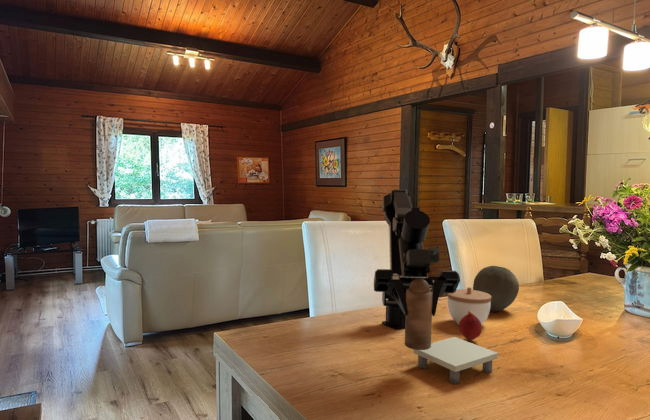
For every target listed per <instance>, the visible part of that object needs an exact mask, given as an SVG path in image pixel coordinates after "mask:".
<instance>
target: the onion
mask: <svg viewBox="0 0 650 420" xmlns="http://www.w3.org/2000/svg"><path fill="white" fill-rule="evenodd" d="M482 327H483V326H482V324H481V322H480V321H479V319H478V318H477V317H476V316H475V315H473V314H472V312H471V311H468V314H467V315H466V316H464V317H463V318H462V319H461V320H460V322H459V325H458V330H459V332H460V334H461V335H462V336H463V337H464V338H465V339H466V341H467V342H472V341H473V340H475V339H477V338H478V337H480V336H481V333H482V331H483V328H482Z"/></svg>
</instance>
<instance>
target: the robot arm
mask: <svg viewBox="0 0 650 420" xmlns="http://www.w3.org/2000/svg"><path fill="white" fill-rule="evenodd" d="M409 193H410V192H409V190H407V189H393V190H390V192H389V193H388V194H386V195H384V196H383V198H382V201H381V212H382V213H383V219H384V220H385V222H386V223H387V224H388V227H389V228H388V229H389V258H390V259H389V262H390V267H389V268H390V269H388V268H386V269H384V268H383V269H382V268H377V269H376V270H375V272H374V275H373V277H374V278H373V291H374V292H375V293H376V292H378V293H382V295H381V300H382V301H381V302H382V305H383V306H384V307H385V320H383V321H381V324H382V325H385V326H387V327H389V328H391V329H395V330H399V329H403V328H404V329H405V316H407V305H406V290H407V289H409V285H410V283H411V282H412V281H413V280H415V279H418V278H420V279H424V280H425V281H426V282H427V283H428V284H429V287H431V288H430V290H431V291H432V292H433V295H432V317H435V316H436V312H437V309H438V308H437V307H438V301H439V297H443V295H444V294H448V293H455V292H456V289H458V287H459V284H460V282H461V277H460V273H459V272H458V271H456V270H439V274H438V276H429V275H428V274H429V273H430V271H431V267H430V266H431V265H432V264H437V263H438V262H439V261H440V253H439V249H438V247H429V248H428V249H424V242H425V240H426V237H427V233H428V230H429V228H430V222H431V219H430V218H431V217H430V216H429V215H428V214H427V213H426V212H424V211H422V210H421V209H420V207H418V206H416V207H414V206H413V205H412V199H411V198H412V197H411V196H410V194H409Z"/></svg>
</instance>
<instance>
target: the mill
mask: <svg viewBox="0 0 650 420" xmlns="http://www.w3.org/2000/svg"><path fill="white" fill-rule="evenodd" d="M430 287H431V286H429V284H428V283H427V282H426V281H425V280H424V279H420V278H418V279H415V280H413V281H412V282H411V283H410V285H409V289H407V290H406V305H407V316H405V327H404V346H405V347H406V348H408V349H411V350H413V349H415V350H427V349H429V348H431V343H432V327H433V326H432V324H433V323H432V321H433V316H432V295H433V292H432V291H431V288H430Z"/></svg>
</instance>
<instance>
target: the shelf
mask: <svg viewBox="0 0 650 420" xmlns="http://www.w3.org/2000/svg"><path fill="white" fill-rule="evenodd" d="M412 350H413V351H412V352H413V354H416V355H417V356H418V357H417V361H418V362H417V367H418V368H419V369H427V368H428V361H431V362H433V363H435V364H438V365H440V366H442V367H444V368H445V369H448V370H449V378H448V382H449V383H450V384H453V385H458V384H460V372H461V371H464V370H466V369H469V368H472V367H477V366H479V365H481V364H482V372H485V373H492V372H493V360H496V359H497V360H498V359H499V353H498V352H496V351H494V350H491V349H488V348H486V347H483V346H480V345H478V344H475V343H473V342H471V341H468V340H465V339H461V338H458V337H456V336H453V337H449V338H445V339H441V340H437V341H433V342H431V348H429V349H427V350H415V349H412Z"/></svg>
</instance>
